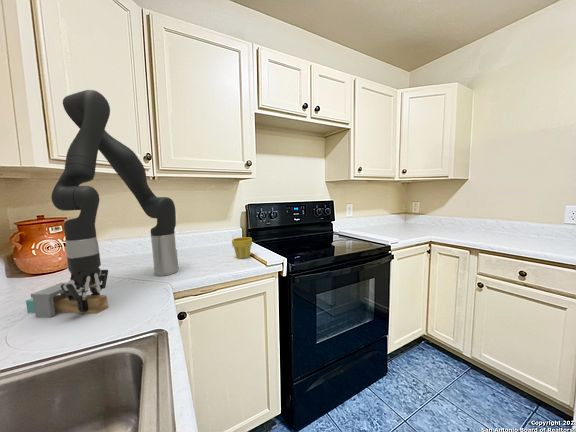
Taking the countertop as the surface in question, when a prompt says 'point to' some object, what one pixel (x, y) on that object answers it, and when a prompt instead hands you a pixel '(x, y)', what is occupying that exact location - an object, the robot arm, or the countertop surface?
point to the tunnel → (46, 300)
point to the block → (30, 305)
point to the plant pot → (242, 247)
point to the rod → (64, 305)
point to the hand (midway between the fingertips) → (90, 307)
